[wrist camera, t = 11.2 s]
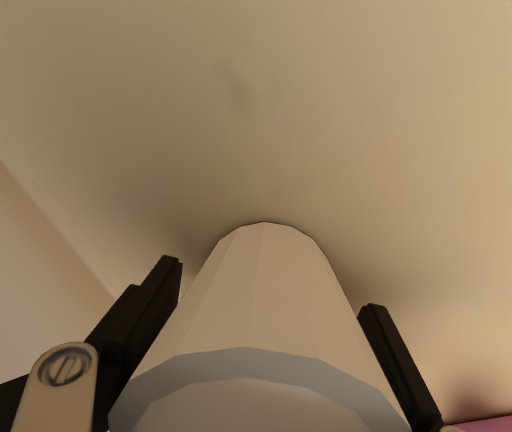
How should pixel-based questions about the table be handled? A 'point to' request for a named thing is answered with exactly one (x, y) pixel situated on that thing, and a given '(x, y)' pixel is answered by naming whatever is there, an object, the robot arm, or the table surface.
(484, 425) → the teapot
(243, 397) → the beige cup
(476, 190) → the table surface
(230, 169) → the table surface
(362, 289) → the table surface
